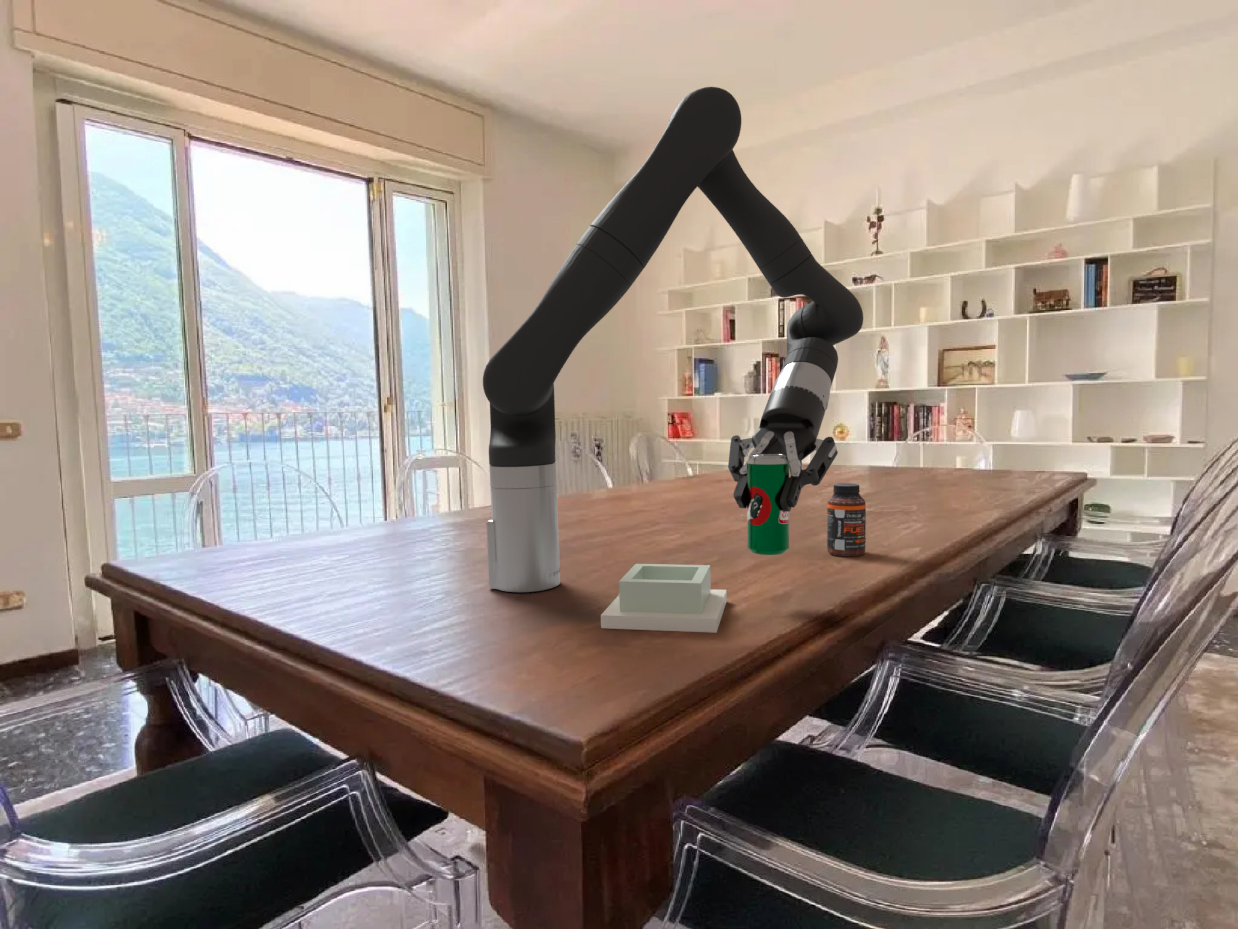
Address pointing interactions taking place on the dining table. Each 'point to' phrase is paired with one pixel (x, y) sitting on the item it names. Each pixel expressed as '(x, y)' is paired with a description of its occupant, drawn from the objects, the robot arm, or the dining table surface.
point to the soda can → (767, 504)
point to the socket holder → (666, 600)
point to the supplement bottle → (846, 521)
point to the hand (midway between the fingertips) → (762, 505)
